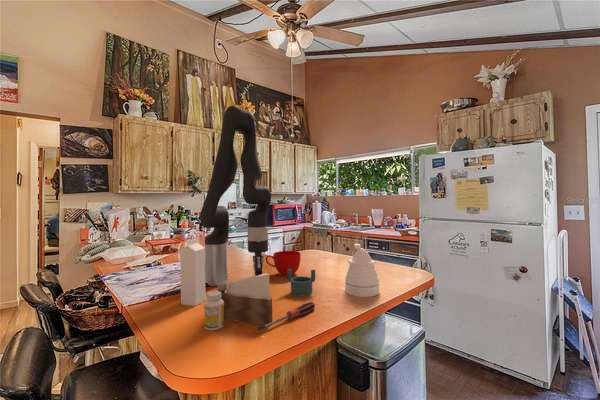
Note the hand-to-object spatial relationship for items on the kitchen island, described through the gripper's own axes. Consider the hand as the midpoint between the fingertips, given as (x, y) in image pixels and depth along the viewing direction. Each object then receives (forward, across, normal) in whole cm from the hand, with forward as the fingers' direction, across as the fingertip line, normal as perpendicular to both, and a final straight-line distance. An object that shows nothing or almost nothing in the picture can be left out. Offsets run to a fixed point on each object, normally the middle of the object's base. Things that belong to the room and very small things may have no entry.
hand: (258, 284), depth 109 cm
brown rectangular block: (+4, +20, -5) cm, 21 cm away
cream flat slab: (+4, +11, -5) cm, 12 cm away
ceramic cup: (+4, -28, +13) cm, 31 cm away
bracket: (+4, -1, +17) cm, 17 cm away
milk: (+4, +2, -23) cm, 23 cm away
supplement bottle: (+4, +24, -14) cm, 28 cm away
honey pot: (+4, +4, +40) cm, 40 cm away
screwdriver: (+5, +24, +8) cm, 26 cm away
